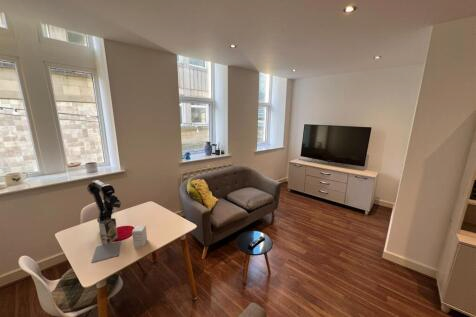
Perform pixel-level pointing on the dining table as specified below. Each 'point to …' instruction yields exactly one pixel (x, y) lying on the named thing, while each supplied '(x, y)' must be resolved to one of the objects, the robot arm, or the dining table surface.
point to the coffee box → (108, 230)
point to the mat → (106, 251)
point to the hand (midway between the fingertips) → (110, 218)
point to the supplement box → (139, 235)
